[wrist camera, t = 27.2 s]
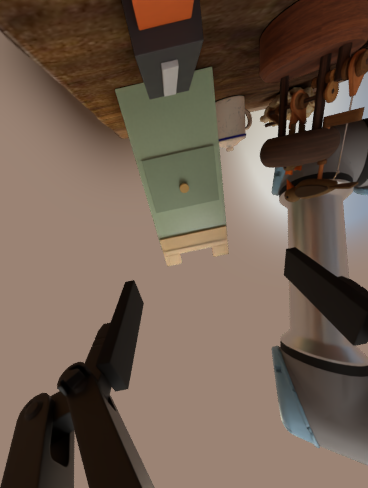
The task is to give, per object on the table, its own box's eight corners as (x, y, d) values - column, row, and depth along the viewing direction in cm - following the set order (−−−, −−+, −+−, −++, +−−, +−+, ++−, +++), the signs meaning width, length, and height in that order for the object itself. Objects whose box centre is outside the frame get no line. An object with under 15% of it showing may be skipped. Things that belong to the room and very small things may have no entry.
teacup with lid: (203, 109, 48) (208, 155, 53) (220, 97, 40) (224, 153, 45) (240, 102, 50) (241, 147, 56) (263, 90, 42) (262, 144, 48)
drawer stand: (214, 60, 23) (230, 255, 36) (196, 100, 38) (212, 226, 52) (111, 85, 23) (166, 269, 37) (135, 114, 39) (167, 235, 52)
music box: (335, -51, 11) (313, 222, 21) (459, -77, 13) (386, 192, 22) (225, 67, 25) (242, 200, 34) (291, 48, 26) (290, 182, 35)
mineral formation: (324, 83, 49) (270, 106, 60) (309, 68, 41) (250, 97, 52) (320, 116, 51) (269, 132, 62) (305, 108, 43) (250, 128, 54)
